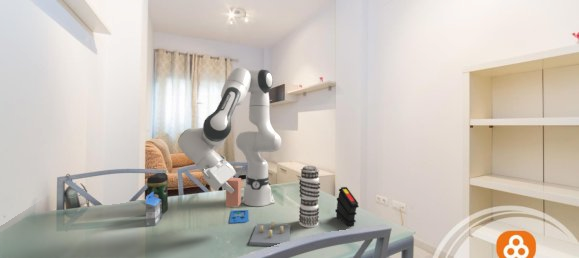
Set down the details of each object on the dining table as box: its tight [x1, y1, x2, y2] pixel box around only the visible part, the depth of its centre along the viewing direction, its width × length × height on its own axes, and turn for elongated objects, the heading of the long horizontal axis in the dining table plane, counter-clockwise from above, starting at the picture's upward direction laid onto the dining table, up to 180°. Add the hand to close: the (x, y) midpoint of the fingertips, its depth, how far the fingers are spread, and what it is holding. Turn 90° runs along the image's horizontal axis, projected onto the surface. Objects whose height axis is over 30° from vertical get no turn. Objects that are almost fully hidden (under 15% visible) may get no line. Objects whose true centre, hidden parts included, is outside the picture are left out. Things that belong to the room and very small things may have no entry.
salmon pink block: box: [225, 177, 242, 208], centre depth 94 cm, size 5×5×10 cm
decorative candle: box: [298, 165, 321, 228], centre depth 106 cm, size 9×9×25 cm
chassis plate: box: [249, 221, 291, 247], centre depth 94 cm, size 16×14×4 cm
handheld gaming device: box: [228, 209, 249, 225], centre depth 113 cm, size 8×1×15 cm
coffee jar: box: [146, 172, 169, 215], centre depth 116 cm, size 10×8×19 cm
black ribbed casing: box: [335, 186, 360, 227], centre depth 109 cm, size 4×13×15 cm, turn 18°
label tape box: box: [145, 191, 163, 227], centre depth 105 cm, size 9×4×12 cm, turn 12°
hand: (235, 189), depth 94 cm, fingers closed on salmon pink block, 5 cm apart
